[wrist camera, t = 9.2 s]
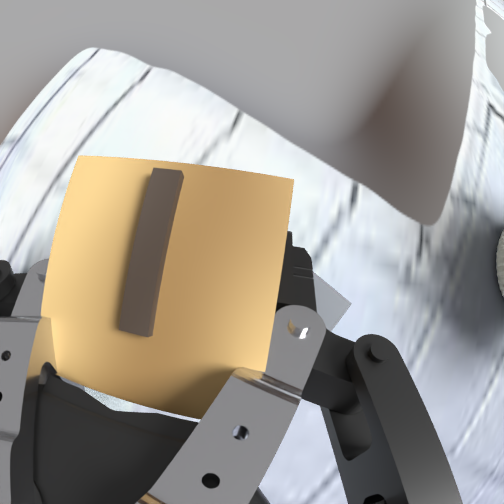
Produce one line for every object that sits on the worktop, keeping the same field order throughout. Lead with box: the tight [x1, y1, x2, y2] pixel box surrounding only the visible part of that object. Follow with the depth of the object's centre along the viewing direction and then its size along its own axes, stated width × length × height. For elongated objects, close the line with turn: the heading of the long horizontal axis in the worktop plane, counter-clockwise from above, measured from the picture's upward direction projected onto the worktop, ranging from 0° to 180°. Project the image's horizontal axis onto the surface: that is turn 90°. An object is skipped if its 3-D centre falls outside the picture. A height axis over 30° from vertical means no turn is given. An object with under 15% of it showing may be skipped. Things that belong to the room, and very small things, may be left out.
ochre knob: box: [41, 156, 294, 419], centre depth 9 cm, size 5×5×8 cm
